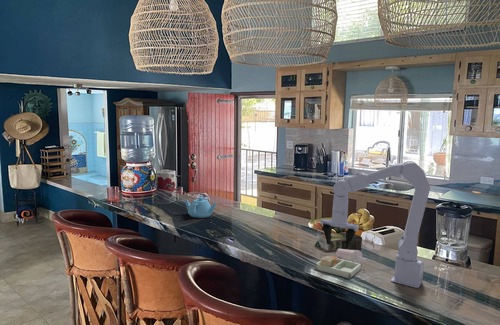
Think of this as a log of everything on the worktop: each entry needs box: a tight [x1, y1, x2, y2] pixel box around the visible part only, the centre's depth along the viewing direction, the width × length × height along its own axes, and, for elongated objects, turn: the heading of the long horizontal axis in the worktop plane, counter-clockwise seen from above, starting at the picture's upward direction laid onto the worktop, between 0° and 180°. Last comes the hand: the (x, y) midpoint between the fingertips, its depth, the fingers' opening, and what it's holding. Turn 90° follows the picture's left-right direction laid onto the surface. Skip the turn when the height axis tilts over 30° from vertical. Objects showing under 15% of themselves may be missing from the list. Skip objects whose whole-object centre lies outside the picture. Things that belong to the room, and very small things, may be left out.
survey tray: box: [314, 255, 362, 279], centre depth 151 cm, size 14×12×3 cm
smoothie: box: [335, 249, 368, 265], centre depth 159 cm, size 6×6×14 cm
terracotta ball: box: [330, 255, 338, 265], centre depth 154 cm, size 4×4×4 cm
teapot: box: [184, 196, 217, 219], centre depth 228 cm, size 15×15×11 cm
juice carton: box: [314, 232, 363, 251], centre depth 180 cm, size 20×10×6 cm, turn 114°
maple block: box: [320, 256, 335, 267], centre depth 150 cm, size 4×4×4 cm
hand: (337, 245), depth 150 cm, fingers open, 7 cm apart
